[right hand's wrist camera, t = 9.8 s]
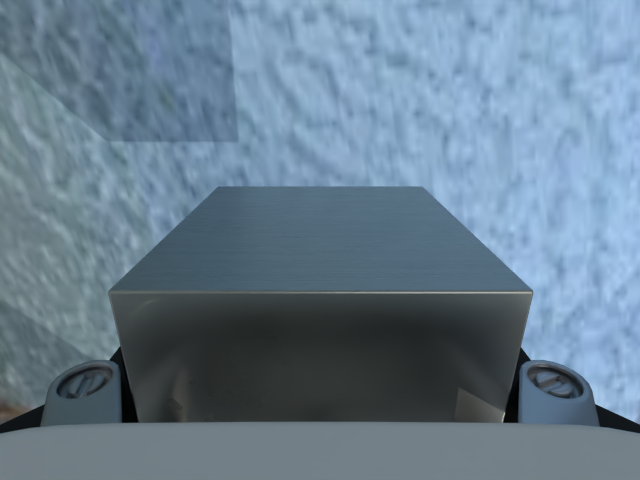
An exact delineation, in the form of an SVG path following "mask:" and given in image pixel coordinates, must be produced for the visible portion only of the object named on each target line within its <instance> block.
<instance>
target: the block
mask: <svg viewBox="0 0 640 480" xmlns="http://www.w3.org/2000/svg"><path fill="white" fill-rule="evenodd" d="M108 294H109V298H110V302H111V307H112V311H113V315H114V320H115V324H116V328H117V333H118V337H119V342H120V346H121V350H122V355H123V359H124V363H125V368H126V372H127V376H128V381H129V385H130V389H131V394H132V398H133V402H134V407H135V411H136V415H137V420H138V423H183V422H457V423H503V422H504V417H505V413H506V409H507V404H508V400H509V396H510V391H511V387H512V383H513V378H514V374H515V370H516V365H517V361H518V357H519V352H520V348H521V344H522V339H523V335H524V331H525V326H526V322H527V318H528V314H529V309H530V305H531V301H532V296H533V290H532V289H531V288H530V287H529V286H528V285H526V284H525V283H524V282H523V281H522V280H521V279H520V278H519V277H518V276H517V275H516V274H515V273H514V272H513V271H512V270H511V269H509V268H508V267H507V266H506V265H505V264H504V263H503V262H502V261H501V260H500V259H499V258H498V257H497V256H496V255H495V254H494V253H492V252H491V251H490V250H489V249H488V248H487V247H486V246H485V245H484V244H483V243H482V242H481V241H480V240H479V239H478V238H476V237H475V236H474V235H473V234H472V233H471V232H470V231H469V230H468V229H467V228H466V227H465V226H464V225H463V224H462V223H461V222H459V221H458V220H457V219H456V218H455V217H454V216H453V215H452V214H451V213H450V212H449V211H448V210H447V209H446V208H445V207H444V206H442V205H441V204H440V203H439V202H438V201H437V200H436V199H435V198H434V197H433V196H432V195H431V194H430V193H429V192H428V191H427V190H425V189H424V188H423V187H217V188H216V189H215V190H214V191H213V192H212V193H211V194H210V195H209V196H208V197H207V198H206V199H205V200H204V201H203V202H202V203H200V204H199V205H198V206H197V207H196V208H195V209H194V210H193V211H192V212H191V213H190V214H189V215H188V216H187V217H186V218H185V219H184V220H183V221H182V222H180V223H179V224H178V225H177V226H176V227H175V228H174V229H173V230H172V231H171V232H170V233H169V234H168V235H167V236H166V237H165V238H164V239H163V240H162V241H161V242H159V243H158V244H157V245H156V246H155V247H154V248H153V249H152V250H151V251H150V252H149V253H148V254H147V255H146V256H145V257H144V258H143V259H142V260H141V261H139V262H138V263H137V264H136V265H135V266H134V267H133V268H132V269H131V270H130V271H129V272H128V273H127V274H126V275H125V276H124V277H123V278H122V279H121V280H120V281H118V282H117V283H116V284H115V285H114V286H113V287H112V288H111V289H110V290H109V293H108Z"/></svg>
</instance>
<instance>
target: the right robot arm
mask: <svg viewBox="0 0 640 480" xmlns="http://www.w3.org/2000/svg"><path fill="white" fill-rule="evenodd" d="M0 480H640V425H639V424H637V423H635V422H633V421H631V420H628V419H626V418H624V417H622V416H620V415H618V414H615V413H613V412H611V411H609V410H607V409H604V408H602V407H600V406H598V405H596V404H595V402H594V397H593V392H592V389H591V387H590V385H589V383H588V382H587V381H586V380H585V379H584V378H583V377H582V376H581V375H579V374H578V373H576V372H575V371H574V370H572V369H570V368H568V367H566V366H564V365H561V364H558V363H555V362H551V361H546V360H532V361H531V360H530V358H529V357H528V356H527V355H526V353H525V352H524V351H523V349H522V348H520V352H519V357H518V361H517V365H516V370H515V374H514V378H513V383H512V387H511V391H510V396H509V400H508V404H507V409H506V413H505V417H504V422H503V423H457V422H183V423H138V420H137V415H136V411H135V407H134V402H133V398H132V394H131V389H130V385H129V381H128V376H127V372H126V368H125V363H124V359H123V355H122V350H121V346H120V347H119V348H118V350H117V351H116V352H115V354H114V355H113V356H112V357H111V359H110V360H109V361H108V360H94V361H89V362H85V363H82V364H79V365H76V366H74V367H72V368H70V369H68V370H66V371H65V372H64V373H62V374H61V375H59V376H58V377H57V378H56V379H55V380H54V381H53V382H52V383H51V385H50V387H49V389H48V392H47V397H46V402H45V404H44V405H42V406H40V407H38V408H36V409H33V410H31V411H29V412H27V413H25V414H23V415H20V416H18V417H16V418H14V419H12V420H10V421H7V422H5V423H3V424H1V425H0Z"/></svg>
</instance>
